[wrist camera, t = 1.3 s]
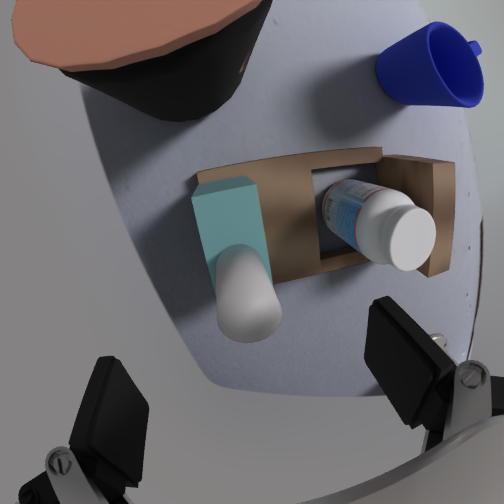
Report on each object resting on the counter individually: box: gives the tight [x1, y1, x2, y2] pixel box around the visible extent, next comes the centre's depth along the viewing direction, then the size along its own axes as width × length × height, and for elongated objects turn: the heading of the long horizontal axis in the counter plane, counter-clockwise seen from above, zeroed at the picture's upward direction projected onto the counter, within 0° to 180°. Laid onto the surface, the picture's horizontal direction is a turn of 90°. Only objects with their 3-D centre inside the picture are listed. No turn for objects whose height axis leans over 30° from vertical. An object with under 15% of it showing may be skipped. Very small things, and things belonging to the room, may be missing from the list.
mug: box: [376, 22, 484, 108], centre depth 17 cm, size 8×12×10 cm
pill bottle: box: [322, 179, 436, 271], centre depth 21 cm, size 6×6×11 cm
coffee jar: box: [11, 0, 273, 122], centre depth 12 cm, size 11×11×18 cm
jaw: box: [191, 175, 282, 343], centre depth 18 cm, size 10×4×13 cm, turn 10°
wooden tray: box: [197, 147, 455, 284], centre depth 22 cm, size 12×21×9 cm, turn 100°
